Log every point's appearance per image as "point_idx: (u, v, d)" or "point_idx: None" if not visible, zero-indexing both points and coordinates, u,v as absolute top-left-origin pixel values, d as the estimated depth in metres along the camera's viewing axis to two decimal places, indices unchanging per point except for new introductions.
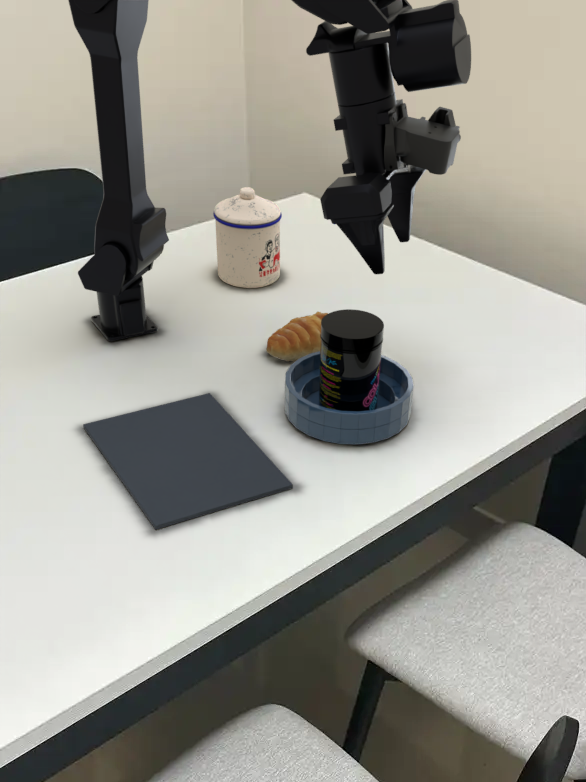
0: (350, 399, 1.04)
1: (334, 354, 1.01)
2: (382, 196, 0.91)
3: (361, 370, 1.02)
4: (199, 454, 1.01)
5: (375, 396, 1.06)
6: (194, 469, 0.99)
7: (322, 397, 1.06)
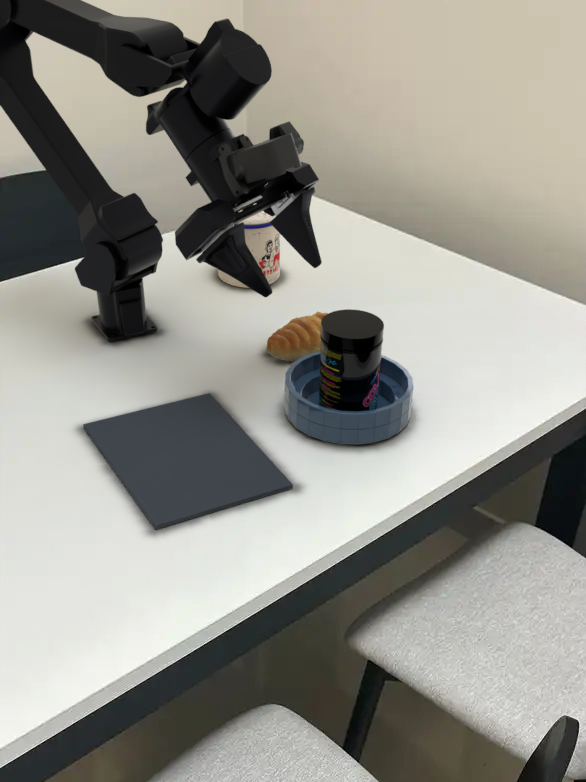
0: (350, 399, 1.04)
1: (334, 354, 1.01)
2: (214, 215, 0.93)
3: (361, 370, 1.02)
4: (199, 454, 1.01)
5: (375, 396, 1.06)
6: (194, 469, 0.99)
7: (322, 397, 1.06)
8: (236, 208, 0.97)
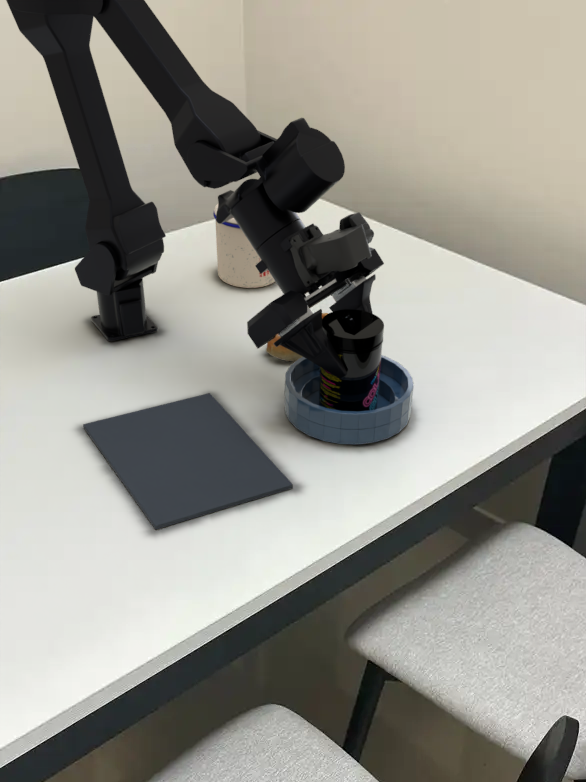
0: (350, 399, 1.04)
1: None
2: (288, 308, 0.95)
3: (361, 370, 1.02)
4: (199, 454, 1.01)
5: (375, 396, 1.06)
6: (194, 469, 0.99)
7: (322, 397, 1.06)
8: (313, 294, 0.99)
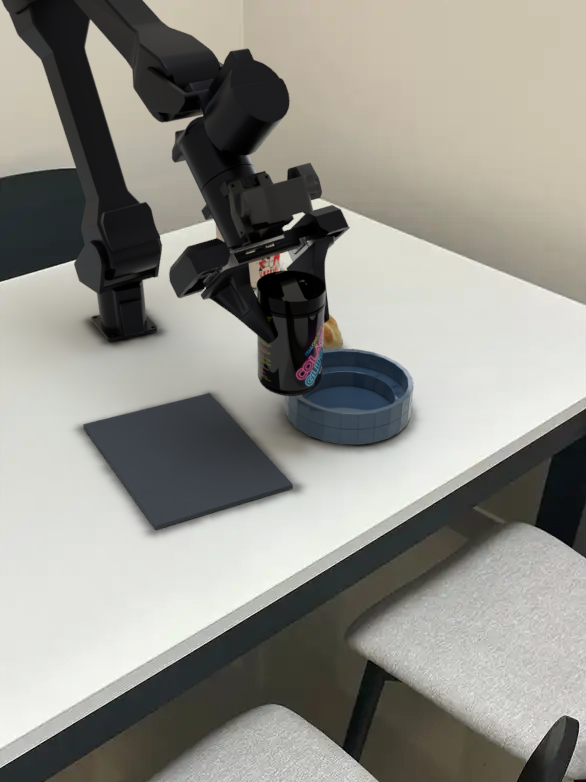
0: (281, 369, 0.95)
1: None
2: (203, 255, 0.87)
3: (292, 337, 0.93)
4: (199, 454, 1.01)
5: (313, 370, 0.96)
6: (194, 469, 0.99)
7: (258, 363, 0.98)
8: (248, 246, 0.91)
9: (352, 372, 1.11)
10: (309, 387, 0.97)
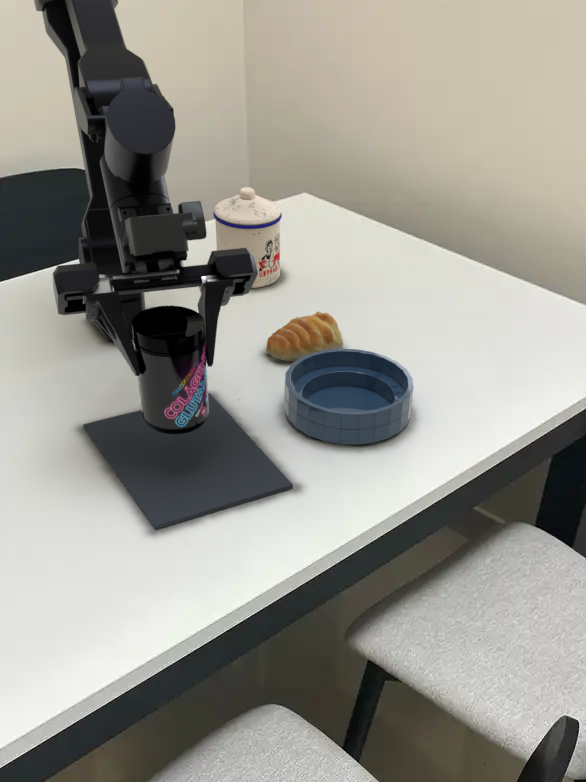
0: (150, 404, 0.92)
1: None
2: (67, 277, 0.86)
3: (156, 374, 0.90)
4: (199, 454, 1.01)
5: (185, 411, 0.93)
6: (194, 469, 0.99)
7: None
8: (131, 276, 0.89)
9: (352, 372, 1.11)
10: (181, 428, 0.94)
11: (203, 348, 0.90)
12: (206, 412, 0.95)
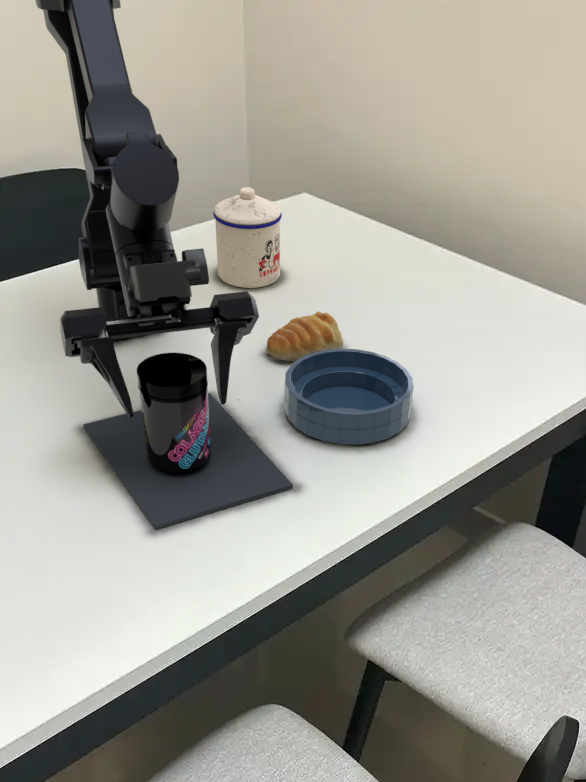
0: (155, 447, 0.96)
1: None
2: (74, 322, 0.89)
3: (160, 419, 0.93)
4: None
5: (188, 454, 0.96)
6: None
7: None
8: (124, 321, 0.91)
9: (352, 372, 1.11)
10: (185, 470, 0.97)
11: (205, 393, 0.94)
12: (209, 454, 0.98)
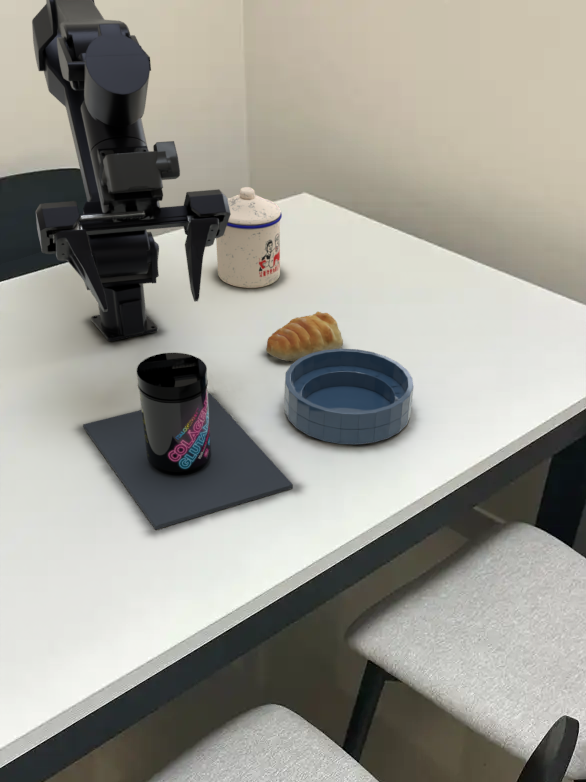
0: (155, 447, 0.96)
1: None
2: (49, 213, 0.91)
3: (160, 420, 0.93)
4: None
5: (188, 454, 0.96)
6: None
7: None
8: (98, 215, 0.94)
9: (352, 372, 1.11)
10: (185, 470, 0.97)
11: (205, 393, 0.94)
12: (208, 454, 0.98)
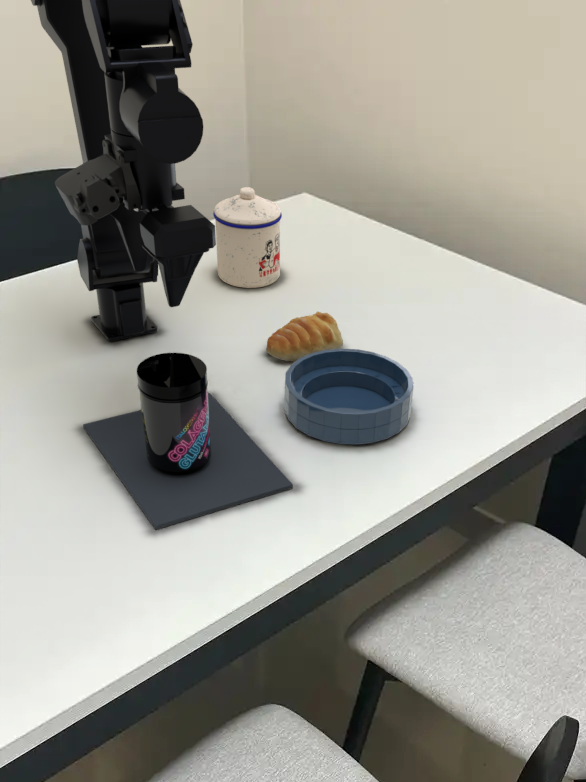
0: (155, 447, 0.96)
1: None
2: None
3: (160, 420, 0.93)
4: None
5: (188, 454, 0.96)
6: None
7: None
8: None
9: (352, 372, 1.11)
10: (185, 470, 0.97)
11: (205, 393, 0.94)
12: (208, 454, 0.98)
